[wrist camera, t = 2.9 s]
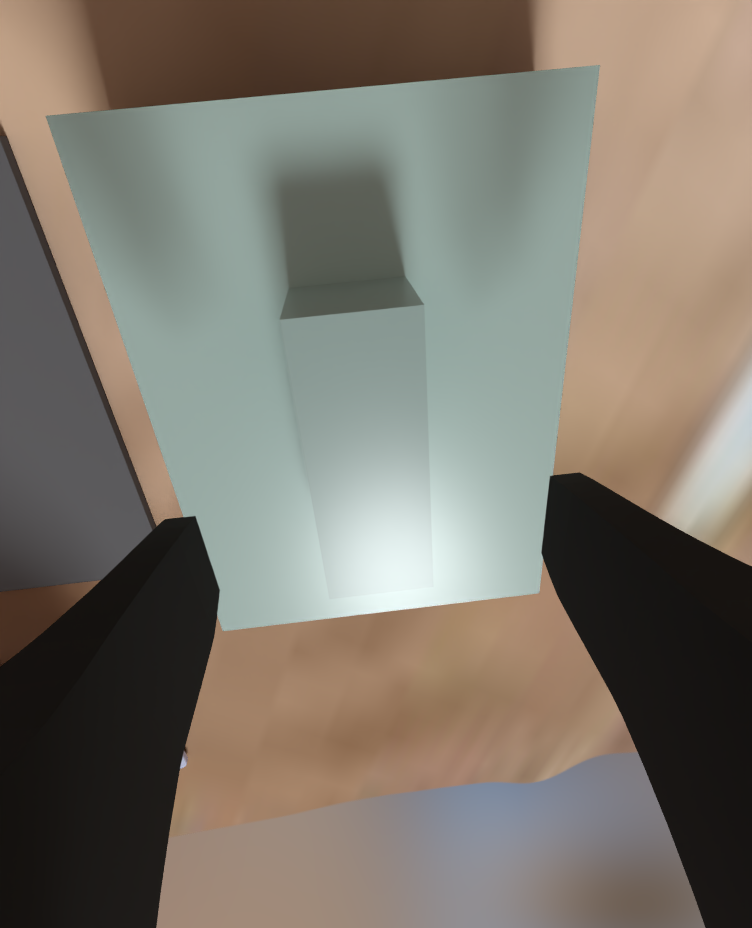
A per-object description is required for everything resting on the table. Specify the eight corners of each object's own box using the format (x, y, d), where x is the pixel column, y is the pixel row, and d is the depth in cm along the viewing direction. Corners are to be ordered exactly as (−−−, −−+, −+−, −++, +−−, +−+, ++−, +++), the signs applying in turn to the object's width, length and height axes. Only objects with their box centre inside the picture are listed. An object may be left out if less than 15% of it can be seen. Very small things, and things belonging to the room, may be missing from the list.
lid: (528, 571, 20) (571, 659, 17) (228, 607, 20) (206, 704, 17) (576, 72, 12) (680, 37, 9) (69, 119, 12) (-42, 102, 8)
